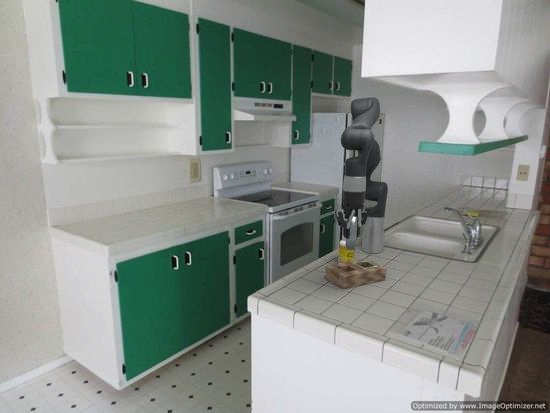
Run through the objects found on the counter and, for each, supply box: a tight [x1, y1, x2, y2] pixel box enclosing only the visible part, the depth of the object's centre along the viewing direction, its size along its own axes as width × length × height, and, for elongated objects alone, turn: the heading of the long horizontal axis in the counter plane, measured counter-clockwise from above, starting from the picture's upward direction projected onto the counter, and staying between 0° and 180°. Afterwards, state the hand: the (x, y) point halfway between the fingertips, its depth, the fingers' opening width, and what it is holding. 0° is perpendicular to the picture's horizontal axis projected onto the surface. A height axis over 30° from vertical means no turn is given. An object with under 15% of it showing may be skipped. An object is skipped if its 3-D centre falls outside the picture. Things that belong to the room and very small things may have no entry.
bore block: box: [324, 258, 387, 290], centre depth 154 cm, size 20×12×5 cm, turn 117°
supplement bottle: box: [337, 234, 356, 264], centre depth 169 cm, size 7×7×13 cm
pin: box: [345, 216, 358, 251], centre depth 137 cm, size 4×4×12 cm
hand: (351, 237), depth 138 cm, fingers closed on pin, 3 cm apart
